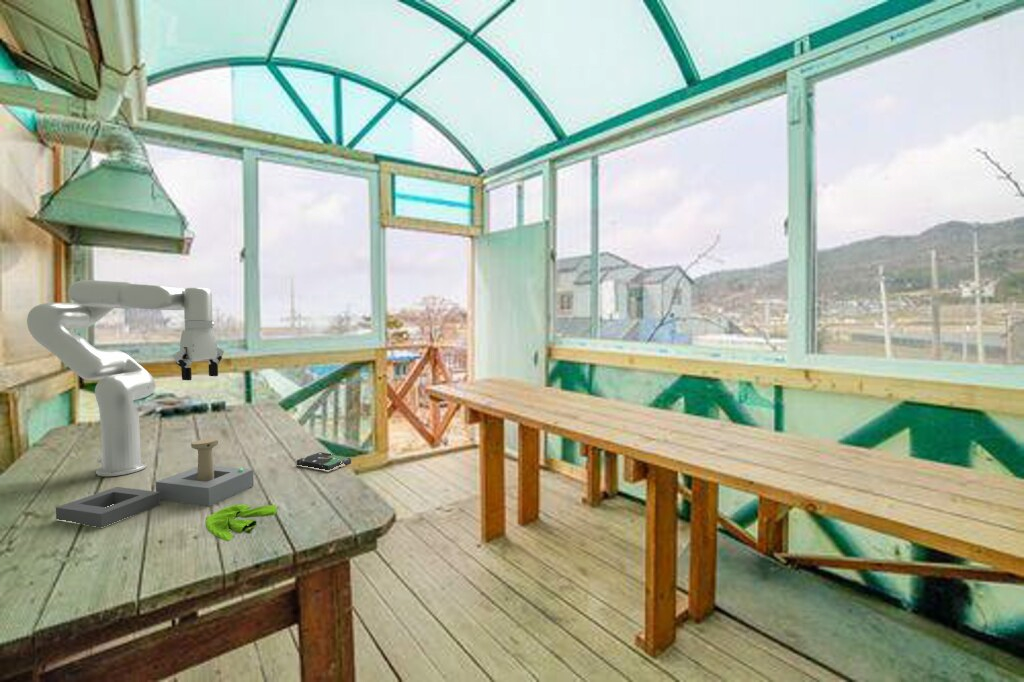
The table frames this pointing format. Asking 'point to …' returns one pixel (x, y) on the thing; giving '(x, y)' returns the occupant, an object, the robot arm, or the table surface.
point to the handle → (205, 458)
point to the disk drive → (323, 461)
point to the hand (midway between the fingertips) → (200, 378)
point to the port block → (205, 486)
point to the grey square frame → (99, 516)
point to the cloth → (225, 520)
